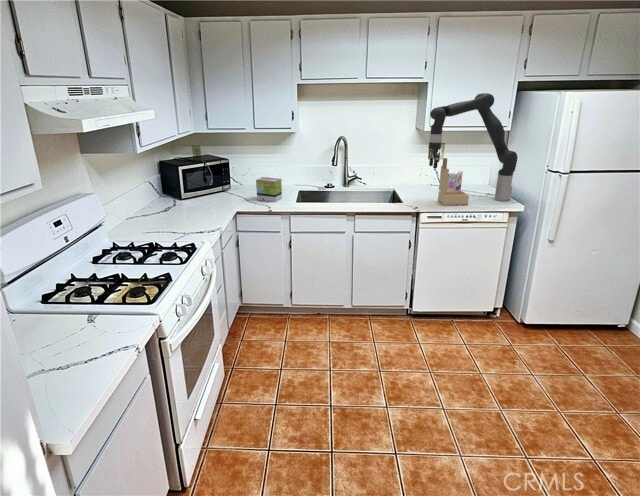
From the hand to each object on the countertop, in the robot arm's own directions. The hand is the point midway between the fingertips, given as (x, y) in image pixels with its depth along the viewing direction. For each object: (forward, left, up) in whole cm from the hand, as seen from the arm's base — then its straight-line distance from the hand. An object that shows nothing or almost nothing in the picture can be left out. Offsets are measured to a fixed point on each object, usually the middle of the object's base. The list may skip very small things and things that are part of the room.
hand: (433, 167), depth 265 cm
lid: (-9, 0, -6) cm, 10 cm away
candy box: (-25, -22, -25) cm, 41 cm away
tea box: (+107, -22, -25) cm, 112 cm away
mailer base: (-16, 0, -25) cm, 29 cm away
